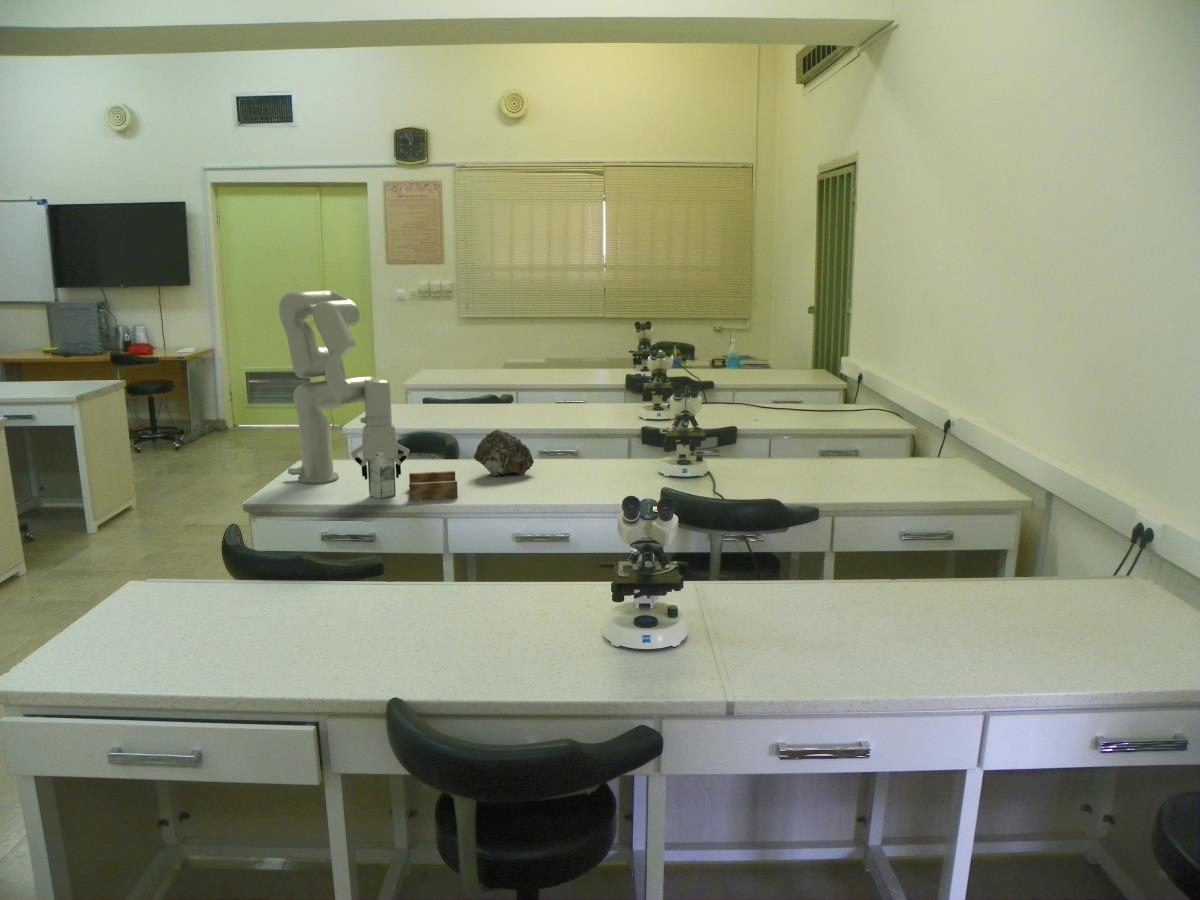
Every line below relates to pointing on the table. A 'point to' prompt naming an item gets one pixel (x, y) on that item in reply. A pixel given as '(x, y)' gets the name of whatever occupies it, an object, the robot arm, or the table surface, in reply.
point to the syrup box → (381, 477)
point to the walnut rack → (432, 485)
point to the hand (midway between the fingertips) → (381, 477)
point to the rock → (503, 454)
